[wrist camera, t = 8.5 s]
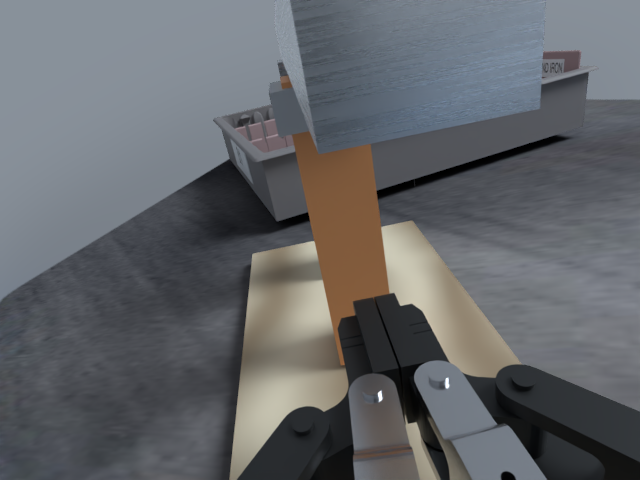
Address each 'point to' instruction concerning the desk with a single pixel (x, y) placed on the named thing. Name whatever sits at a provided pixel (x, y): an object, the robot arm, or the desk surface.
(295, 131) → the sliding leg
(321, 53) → the bar
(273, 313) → the board
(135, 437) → the desk surface
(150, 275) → the desk surface
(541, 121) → the organizer tray
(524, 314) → the desk surface
